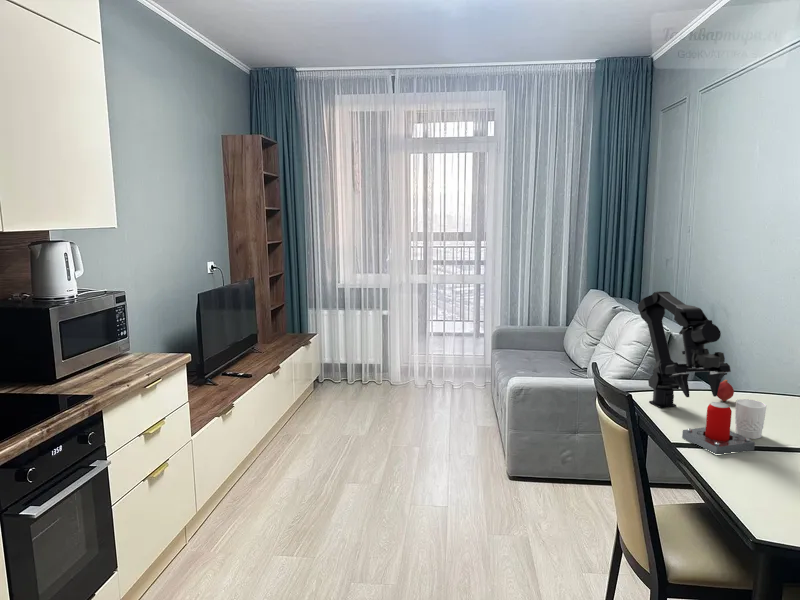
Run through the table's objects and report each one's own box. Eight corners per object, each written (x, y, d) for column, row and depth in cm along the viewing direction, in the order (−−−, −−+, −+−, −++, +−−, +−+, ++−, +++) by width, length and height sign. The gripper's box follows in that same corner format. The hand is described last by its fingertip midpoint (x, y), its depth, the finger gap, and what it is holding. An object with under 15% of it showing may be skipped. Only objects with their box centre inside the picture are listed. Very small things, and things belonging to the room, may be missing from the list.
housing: (682, 437, 169) (682, 428, 169) (718, 433, 172) (718, 423, 172) (716, 455, 157) (716, 445, 156) (754, 450, 160) (755, 439, 159)
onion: (717, 403, 198) (719, 381, 197) (711, 398, 204) (713, 377, 203) (735, 404, 197) (737, 382, 196) (729, 398, 203) (730, 377, 202)
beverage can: (715, 438, 169) (718, 399, 167) (733, 446, 163) (737, 406, 161) (699, 441, 167) (702, 402, 165) (717, 449, 161) (720, 409, 159)
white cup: (761, 432, 173) (764, 400, 171) (765, 441, 166) (768, 409, 164) (731, 428, 176) (734, 397, 175) (734, 437, 169) (737, 405, 168)
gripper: (682, 343, 169) (690, 396, 165) (739, 342, 171) (747, 394, 168) (661, 348, 179) (667, 398, 176) (714, 347, 182) (722, 396, 178)
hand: (701, 396), depth 174 cm, fingers open, 9 cm apart
